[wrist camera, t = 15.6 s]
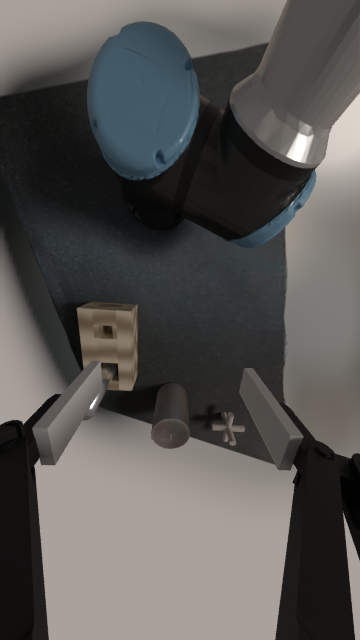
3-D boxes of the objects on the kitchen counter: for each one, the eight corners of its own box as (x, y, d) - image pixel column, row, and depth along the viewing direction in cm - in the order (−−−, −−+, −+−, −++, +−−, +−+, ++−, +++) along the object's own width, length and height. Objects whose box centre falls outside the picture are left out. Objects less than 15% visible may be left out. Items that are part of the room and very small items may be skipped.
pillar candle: (191, 401, 56) (196, 447, 42) (163, 410, 57) (159, 458, 42) (180, 378, 53) (182, 418, 39) (151, 388, 54) (143, 431, 40)
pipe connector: (234, 426, 60) (246, 456, 50) (206, 424, 59) (212, 454, 50) (240, 403, 57) (254, 430, 47) (211, 401, 56) (218, 428, 47)
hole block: (91, 301, 45) (76, 308, 38) (137, 304, 46) (130, 311, 39) (97, 372, 52) (85, 388, 45) (137, 374, 52) (131, 390, 46)
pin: (107, 353, 48) (70, 402, 31) (121, 354, 48) (92, 403, 31) (108, 366, 49) (72, 419, 32) (122, 366, 50) (94, 420, 32)
